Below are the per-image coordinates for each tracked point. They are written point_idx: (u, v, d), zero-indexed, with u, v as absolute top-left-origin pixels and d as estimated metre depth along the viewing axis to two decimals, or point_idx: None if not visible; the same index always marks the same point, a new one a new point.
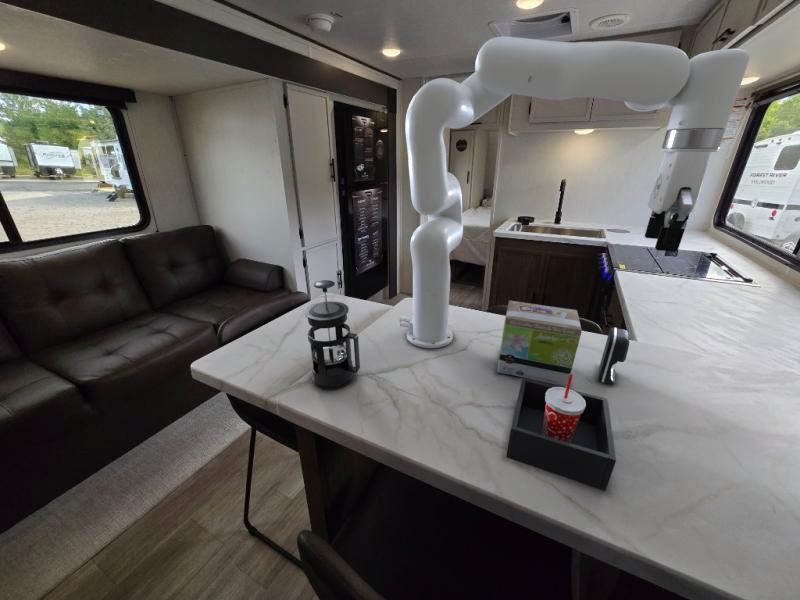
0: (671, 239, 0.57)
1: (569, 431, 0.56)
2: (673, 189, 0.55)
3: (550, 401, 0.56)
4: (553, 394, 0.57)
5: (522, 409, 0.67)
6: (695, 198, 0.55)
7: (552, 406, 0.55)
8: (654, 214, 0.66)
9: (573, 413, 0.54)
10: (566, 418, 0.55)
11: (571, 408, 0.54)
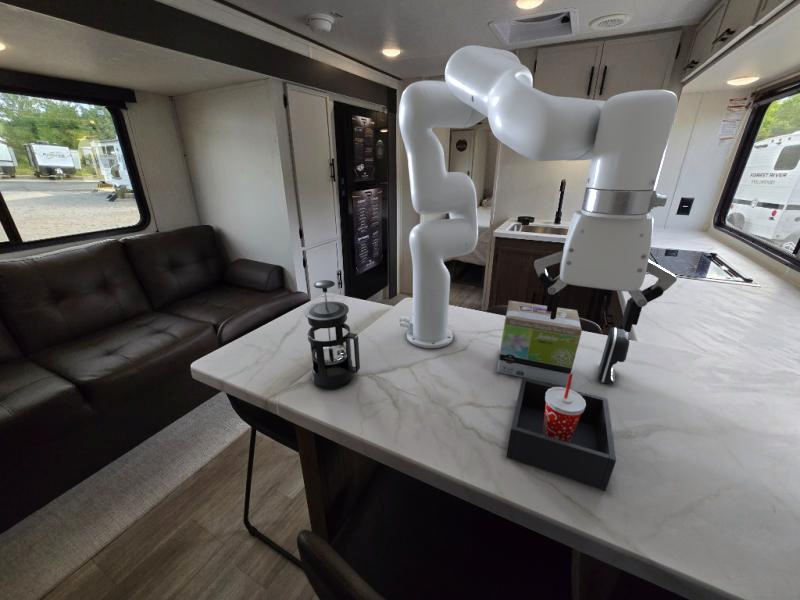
0: None
1: (569, 431, 0.56)
2: None
3: (550, 401, 0.56)
4: (553, 394, 0.57)
5: (522, 409, 0.67)
6: (562, 264, 0.48)
7: (552, 406, 0.55)
8: None
9: (573, 413, 0.54)
10: (566, 418, 0.55)
11: (571, 408, 0.54)
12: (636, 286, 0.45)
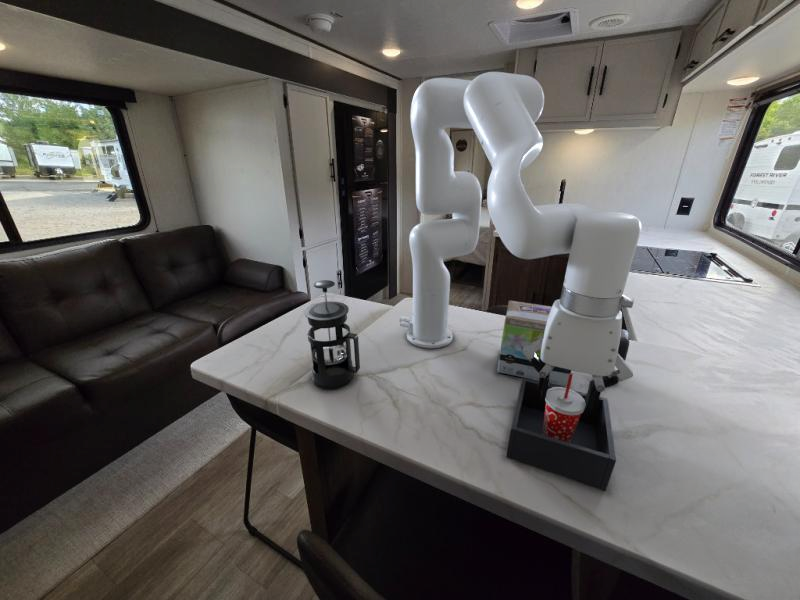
0: None
1: (569, 431, 0.56)
2: None
3: (550, 401, 0.56)
4: (553, 394, 0.57)
5: (522, 409, 0.67)
6: (542, 347, 0.53)
7: (552, 406, 0.55)
8: None
9: (573, 413, 0.54)
10: (566, 418, 0.55)
11: (571, 408, 0.54)
12: (607, 373, 0.50)
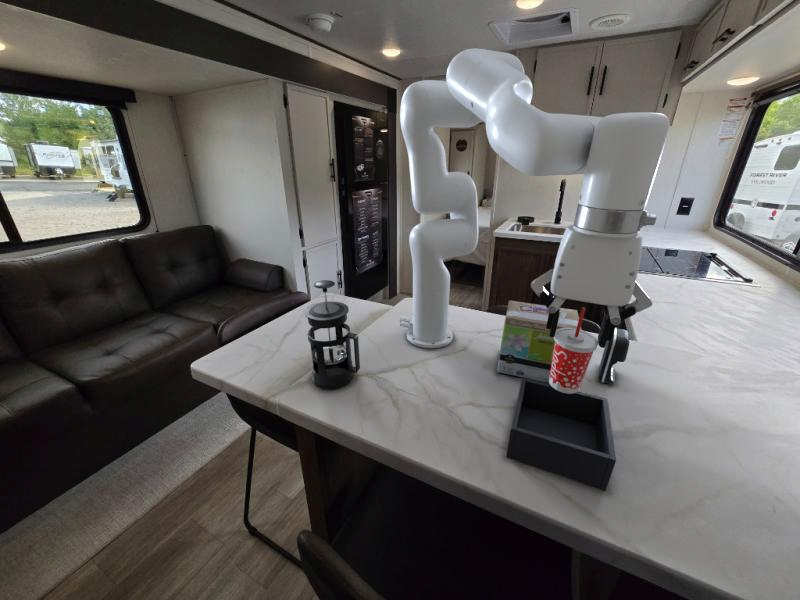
0: None
1: (580, 372, 0.52)
2: None
3: (560, 339, 0.51)
4: (563, 334, 0.53)
5: (522, 409, 0.67)
6: (553, 277, 0.48)
7: (562, 344, 0.51)
8: None
9: (585, 350, 0.50)
10: (577, 356, 0.50)
11: (583, 346, 0.50)
12: (624, 302, 0.46)
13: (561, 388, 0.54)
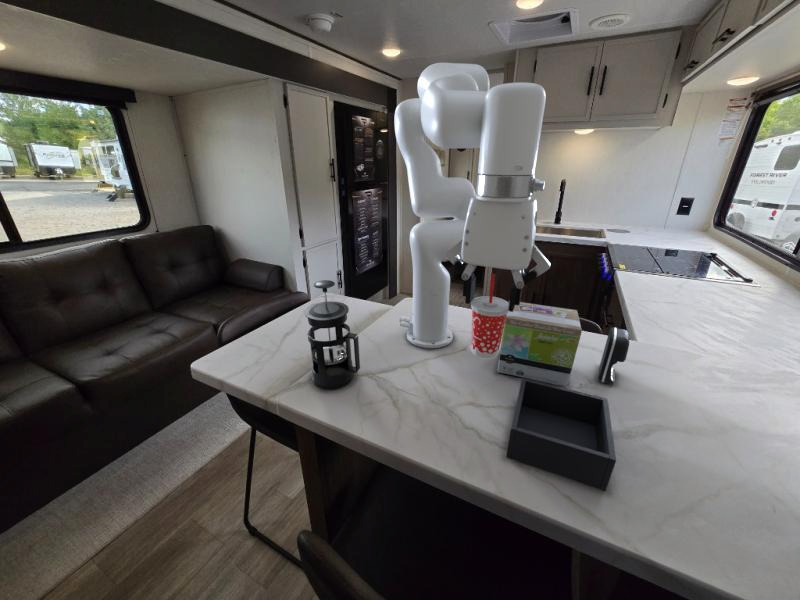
0: None
1: (494, 336, 0.54)
2: None
3: (474, 305, 0.54)
4: (479, 301, 0.56)
5: (522, 409, 0.67)
6: (462, 245, 0.51)
7: (475, 309, 0.54)
8: None
9: (495, 314, 0.52)
10: (489, 321, 0.53)
11: (494, 310, 0.53)
12: (524, 265, 0.49)
13: (479, 353, 0.57)
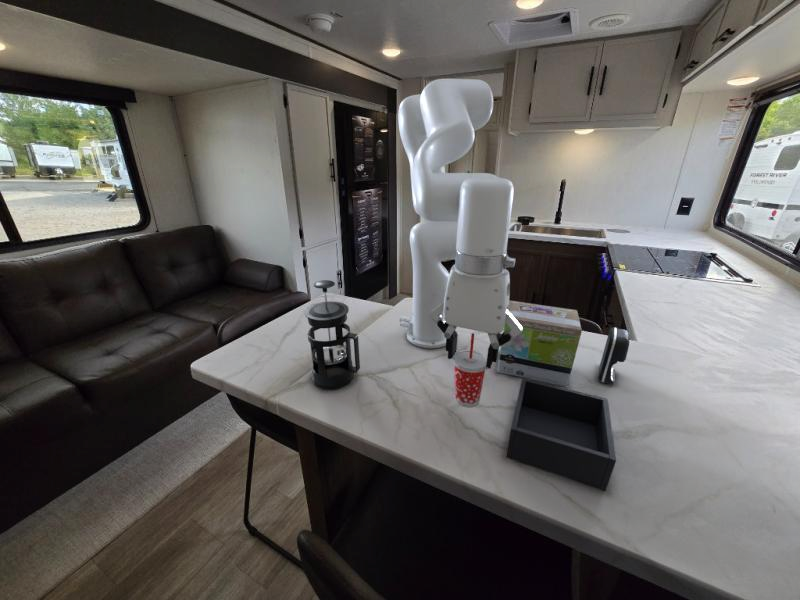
0: None
1: (474, 389, 0.59)
2: None
3: (455, 361, 0.59)
4: (461, 355, 0.61)
5: (522, 409, 0.67)
6: (443, 308, 0.57)
7: (456, 365, 0.59)
8: None
9: (474, 370, 0.57)
10: (469, 376, 0.58)
11: (473, 366, 0.58)
12: (498, 330, 0.54)
13: (461, 403, 0.62)
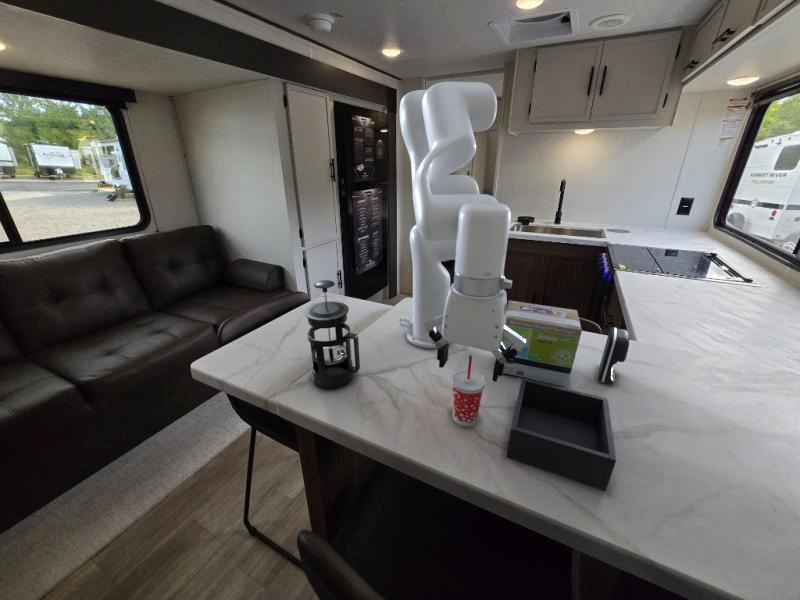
0: None
1: (471, 409, 0.61)
2: None
3: (453, 381, 0.61)
4: (459, 376, 0.63)
5: (522, 409, 0.67)
6: (442, 326, 0.58)
7: (454, 386, 0.61)
8: None
9: (471, 392, 0.59)
10: (467, 397, 0.60)
11: (470, 388, 0.60)
12: (495, 348, 0.55)
13: (459, 422, 0.63)
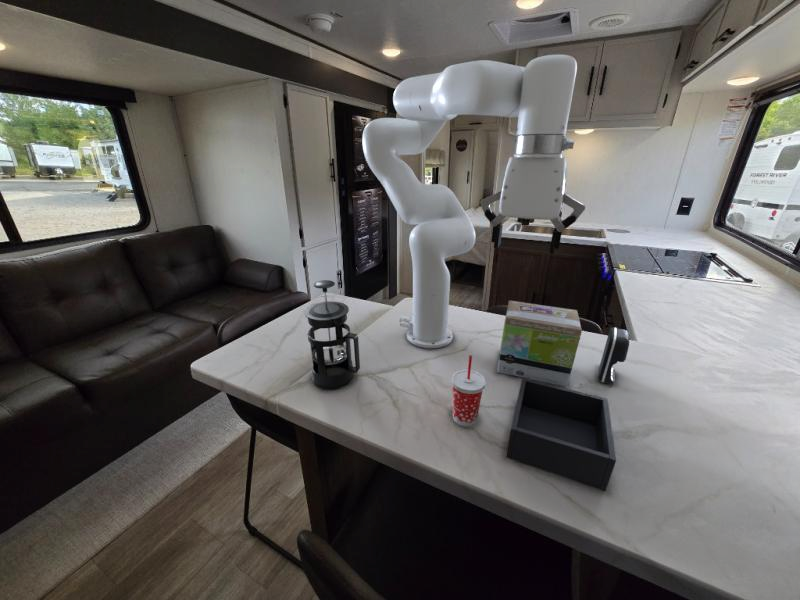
0: None
1: (471, 409, 0.61)
2: None
3: (453, 381, 0.61)
4: (459, 376, 0.63)
5: (522, 409, 0.67)
6: (500, 199, 0.60)
7: (454, 386, 0.61)
8: None
9: (471, 392, 0.59)
10: (467, 397, 0.60)
11: (470, 388, 0.60)
12: (555, 214, 0.57)
13: (459, 422, 0.63)
